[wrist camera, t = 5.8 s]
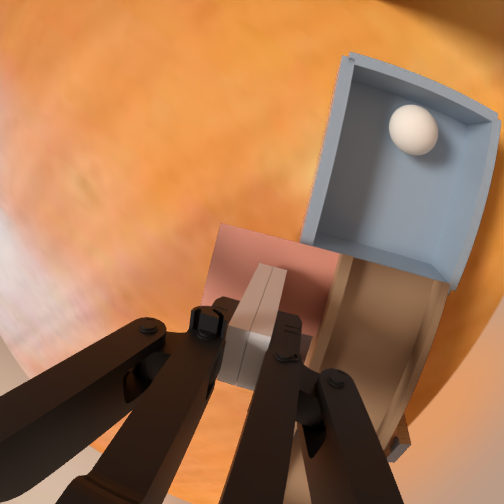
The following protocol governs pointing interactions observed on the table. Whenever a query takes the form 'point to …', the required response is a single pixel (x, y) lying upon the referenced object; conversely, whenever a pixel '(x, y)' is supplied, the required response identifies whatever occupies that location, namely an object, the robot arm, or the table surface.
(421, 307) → the lever
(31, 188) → the table surface
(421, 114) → the ball
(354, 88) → the dish
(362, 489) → the robot arm
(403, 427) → the fulcrum
